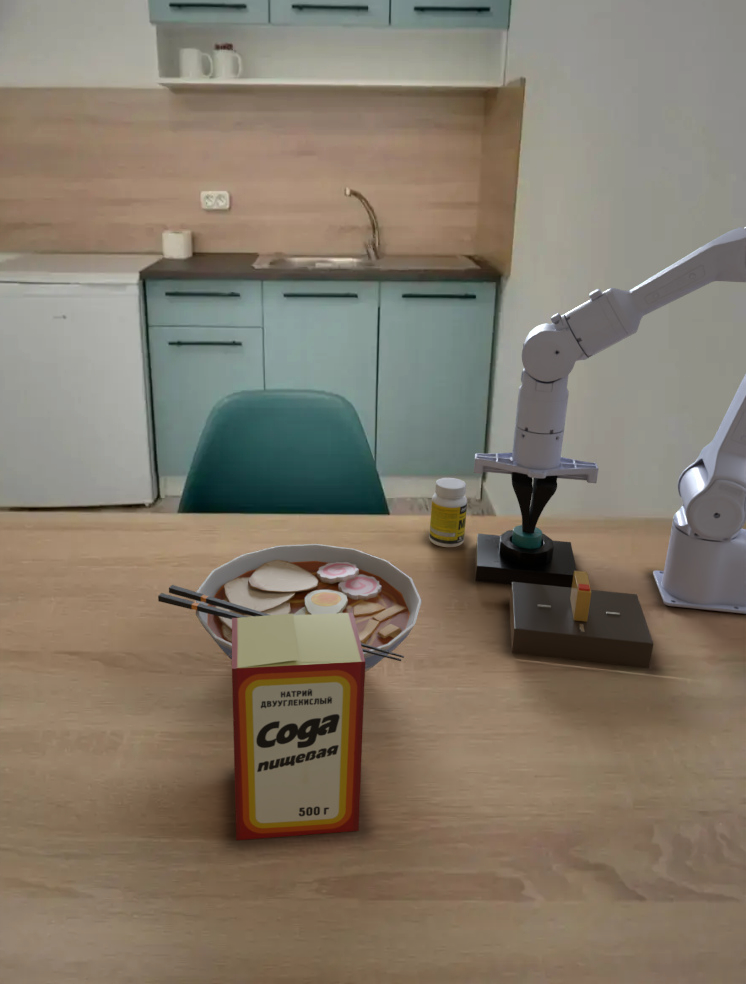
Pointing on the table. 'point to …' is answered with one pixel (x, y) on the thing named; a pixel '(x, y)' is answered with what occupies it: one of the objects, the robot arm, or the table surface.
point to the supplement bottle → (448, 513)
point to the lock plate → (579, 626)
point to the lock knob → (580, 596)
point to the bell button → (527, 538)
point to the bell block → (523, 561)
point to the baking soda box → (297, 724)
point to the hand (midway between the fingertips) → (527, 529)
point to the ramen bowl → (308, 593)
